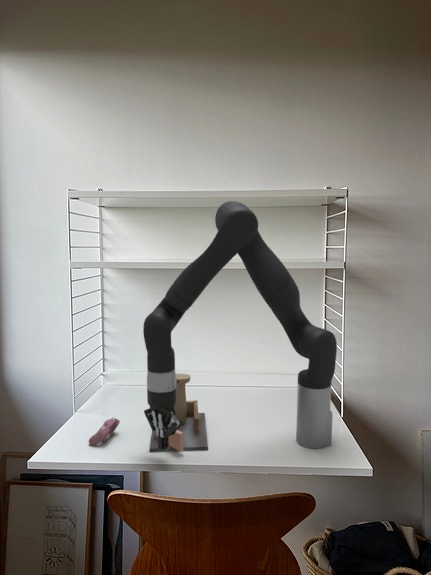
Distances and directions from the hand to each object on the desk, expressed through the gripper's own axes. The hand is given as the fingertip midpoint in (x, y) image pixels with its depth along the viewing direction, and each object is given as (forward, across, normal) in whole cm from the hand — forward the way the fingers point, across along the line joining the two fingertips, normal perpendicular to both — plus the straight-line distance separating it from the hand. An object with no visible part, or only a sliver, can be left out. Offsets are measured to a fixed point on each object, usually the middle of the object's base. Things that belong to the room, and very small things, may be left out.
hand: (163, 448), depth 126 cm
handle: (+3, -11, +16) cm, 20 cm away
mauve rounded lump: (+4, -21, -4) cm, 22 cm away
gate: (+2, -4, +5) cm, 7 cm away
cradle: (+3, -9, +13) cm, 16 cm away
